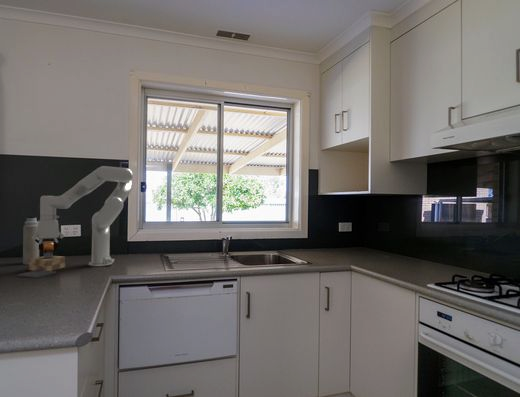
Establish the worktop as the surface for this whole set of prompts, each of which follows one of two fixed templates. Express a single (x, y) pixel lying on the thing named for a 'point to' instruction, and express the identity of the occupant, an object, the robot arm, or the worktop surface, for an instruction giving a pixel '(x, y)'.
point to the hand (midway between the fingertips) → (48, 250)
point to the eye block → (47, 263)
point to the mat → (36, 274)
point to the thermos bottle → (30, 239)
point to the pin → (48, 249)
